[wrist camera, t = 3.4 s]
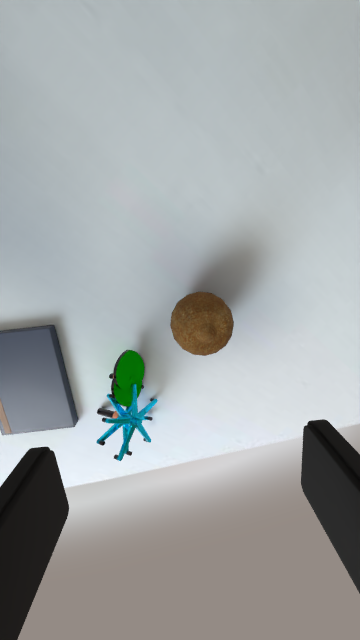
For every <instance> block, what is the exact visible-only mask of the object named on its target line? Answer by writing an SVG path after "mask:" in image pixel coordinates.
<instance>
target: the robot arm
mask: <svg viewBox="0 0 360 640" xmlns="http://www.w3.org/2000/svg"><path fill="white" fill-rule="evenodd" d="M301 474H302V475H301V485H302V489H303V492H304V494H305V496H306V497H307V499H308V501H309V503H310V505H311V507H312V508H313V510H314V512H315V514H316V515H317V517H318V519H319V521H320V523H321V525H322V526H323V528H324V530H325V532H326V534H327V535H328V537H329V539H330V541H331V543H332V544H333V546H334V548H335V550H336V551H337V553H338V555H339V557H340V559H341V561H342V562H343V564H344V566H345V568H346V569H347V571H348V573H349V575H350V577H351V578H352V580H353V582H354V584H355V586H356V587H357V589H358V591H359V593H360V454H359V453H358V452H357V451H356V450H355V449H354V448H353V447H352V446H351V445H350V444H349V443H348V442H347V441H346V440H345V439H344V438H343V437H342V435H340V433H339V432H338V431H337V430H336V429H335V428H334V427H333V426H332V425H331V424H330V423H329V422H328V421H327V420H314V421H309V422H308V424H307V426H304V431H303V452H302V472H301ZM68 511H69V505H68V501H67V497H66V493H65V490H64V486H63V483H62V479H61V475H60V472H59V468H58V464H57V461H56V457H55V454H54V452H53V451H50V449H49V447H38V448H31V449H29V450H28V451H27V452H26V454H25V455H24V456H23V458H22V459H21V460H20V462H19V463H18V464H17V466H16V467H15V468H14V470H13V471H12V472H11V474H10V475H9V476H8V478H7V479H6V480H5V482H4V483H3V484H2V486H1V487H0V640H17V639H18V636H19V634H20V631H21V629H22V626H23V624H24V622H25V619H26V617H27V614H28V612H29V609H30V607H31V605H32V602H33V600H34V597H35V595H36V592H37V590H38V587H39V585H40V583H41V580H42V578H43V575H44V572H45V570H46V568H47V565H48V563H49V560H50V558H51V556H52V553H53V551H54V548H55V546H56V543H57V541H58V539H59V536H60V534H61V531H62V529H63V526H64V524H65V521H66V519H67V516H68Z"/></svg>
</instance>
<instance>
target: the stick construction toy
mask: <svg viewBox="0 0 360 640" xmlns="http://www.w3.org/2000/svg"><path fill="white" fill-rule="evenodd" d="M109 377H110V379H113V380H112V385H111V391H112V394H107V397H108V399H109V400H110V402H111V403H112V405H113V407H114V408H115V410H116V411H111V410H107V409H103V408H99V409H98V411H97V413H98V414H99V415H102V416H106V417H110V418H109V419H107V418H103V419H102V421H103V422H106V423H115V424H114V425H113V426H112V427H111V428H110V429H109V430H108V431H106V432H105V433H104V434H103V435H102V436H101V437H100V438H99V439H98V440H97V444H100V445H104V444H105V441H104V440H106V439H107V438H108V437H109V436H110V435H111V434H113V433H114V432H115V431H116V430H117V429H119V428H120V427H121V426H122V425H123V440H124V442H123V445H122V447H121V450H120V453H119V456H118V455H115V456H114V459H117V460H119V461H121V460H122V458H123V456H124V454H127V455H130V456H131V455H132V452H130V451H129V442H130V439H131V437H132V435H133V432H134V430H135V428H136V429H137V430H138V431H139V432H140V433H141V435H142V436H143V437H144V441H146V442H151V439H150V437H149V436H148V434H147V432H146V431H145V429H144V427H143V426H142V424H141V423H142V420H152V417H148V416H144V415H145V414H146V413H147V412H148V411H149V410H150V409H151V408H152V407H153V406H154V405H155V404H156V403H157V399H152V398H151V399H150V401H151V403H149V404H148V405H147V406H146V407H145V408H143V409H142V410H141V411H140V412H139V413H138V408H137V398H138V396H139V394H140V391H141V388H142V389H143V388H144V386H143V385H142V379H143V377H144V363H143V360H142V358H141V356H140V355H139V354H138V353H137V352H135V351H132V350H126V351H125V352H123V353H122V354H121V355H120V357H119V358H118V360H117V362H116V364H115V367H114V374H112V373H111V374H110V375H109ZM120 405H122V406H126V407H127V408H126V410H125V411H124V409H123V408H122V407H121V406H120Z"/></svg>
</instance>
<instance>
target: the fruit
mask: <svg viewBox="0 0 360 640" xmlns="http://www.w3.org/2000/svg"><path fill="white" fill-rule="evenodd" d="M233 325H234V322H233V318H232V313H231V311H230V309H229V308H228V306H227V305H226V304H225V302H224V301H223V300H222V299H221V298H219V297H217V296H215V295H214V294H212V293H206V292H196V293H192V294H189V295H187V296H185V297H184V298H183V299H181V300H180V301H179V302H178V303H177V305H176V307H175V308H174V310H173V312H172V316H171V325H170V326H171V329H172V333H173V336H174V339H175V340H176V341H177V343H178V344H179V345H180V346H181V347H182V348H183V349H184V350H186V351H188V352H190V353H192V354H194V355H204V356H206V355H209V354H213V353H216V352H218V351H219V350H220V349H222V348H223V347H225V346H226V344H227V343H228V341H229V339H230V338H231V336H232V331H233Z"/></svg>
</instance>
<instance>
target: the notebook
mask: <svg viewBox="0 0 360 640" xmlns="http://www.w3.org/2000/svg"><path fill="white" fill-rule="evenodd" d="M77 422H78V419H77V415H76V411H75V407H74V403H73V399H72V395H71V391H70V387H69V383H68V379H67V375H66V371H65V367H64V363H63V359H62V355H61V351H60V347H59V343H58V339H57V335H56V331H55V327H54V325H50V326H41V327H32V328H23V329H13V330H4V331H0V430H1V433H2V435H9V434H18V433H26V432H35V431H44V430H52V429H61V428H70V427H75V425H76V423H77Z"/></svg>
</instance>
